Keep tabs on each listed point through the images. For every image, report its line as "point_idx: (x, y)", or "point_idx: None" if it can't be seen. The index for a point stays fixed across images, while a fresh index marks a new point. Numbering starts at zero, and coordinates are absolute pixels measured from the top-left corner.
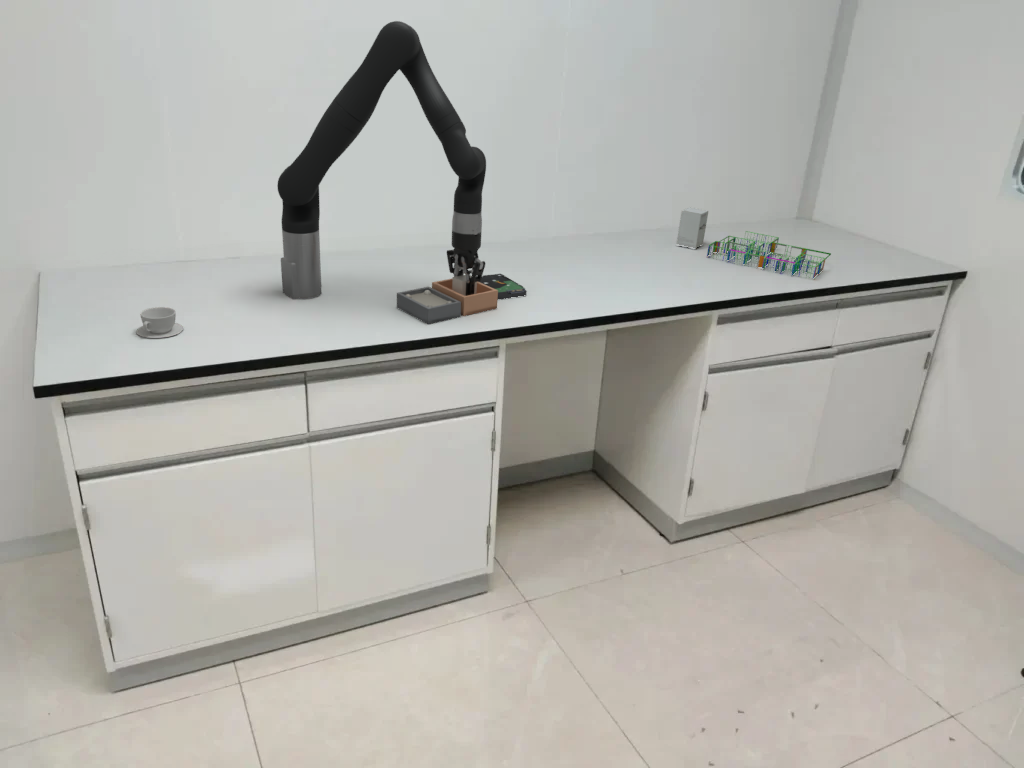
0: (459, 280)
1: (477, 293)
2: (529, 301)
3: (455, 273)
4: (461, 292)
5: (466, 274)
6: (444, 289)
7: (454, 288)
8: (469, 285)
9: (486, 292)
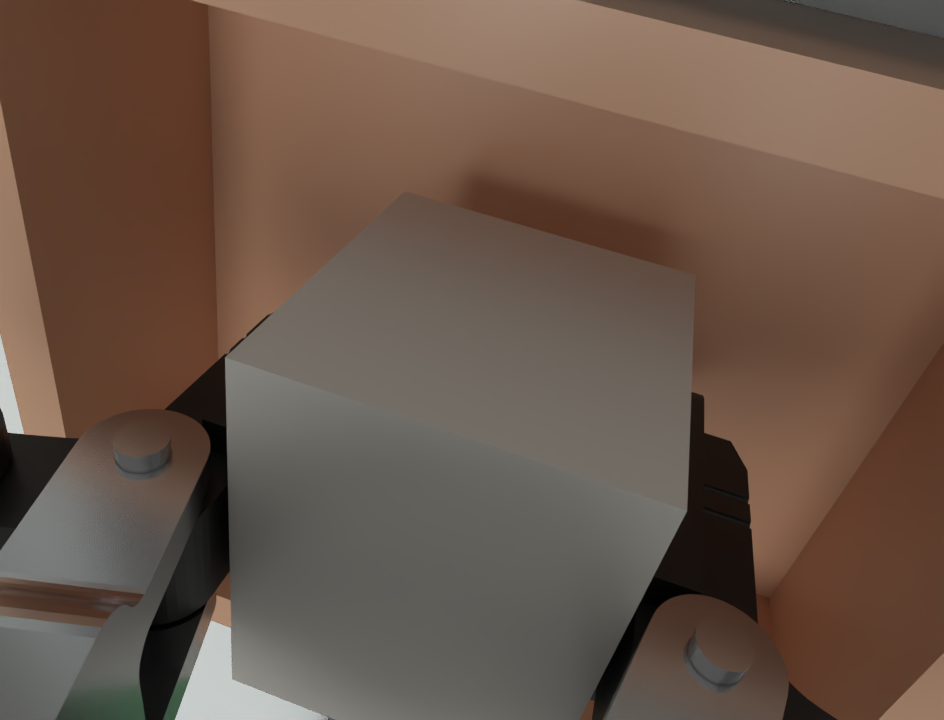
0: (336, 387)
1: (31, 281)
2: (216, 664)
3: (687, 693)
4: (365, 228)
5: (78, 594)
6: (744, 35)
7: (611, 311)
8: (204, 405)
9: (31, 413)
